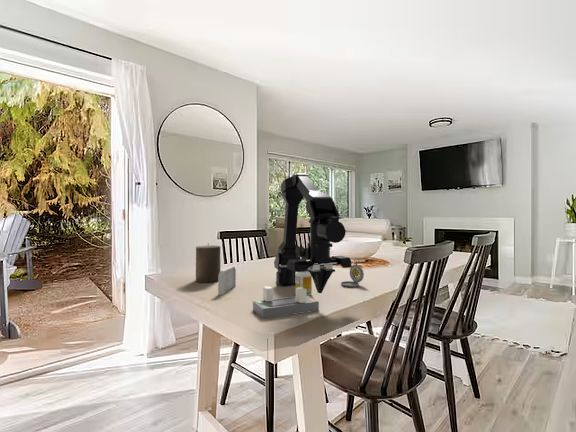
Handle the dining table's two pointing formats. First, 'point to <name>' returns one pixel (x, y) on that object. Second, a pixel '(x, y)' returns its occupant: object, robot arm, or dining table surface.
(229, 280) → the light switch
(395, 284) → the dining table surface
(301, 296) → the block
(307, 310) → the panel
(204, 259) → the pillar candle
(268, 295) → the block
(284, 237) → the robot arm
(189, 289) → the dining table surface
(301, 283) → the supplement bottle
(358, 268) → the pocket watch
